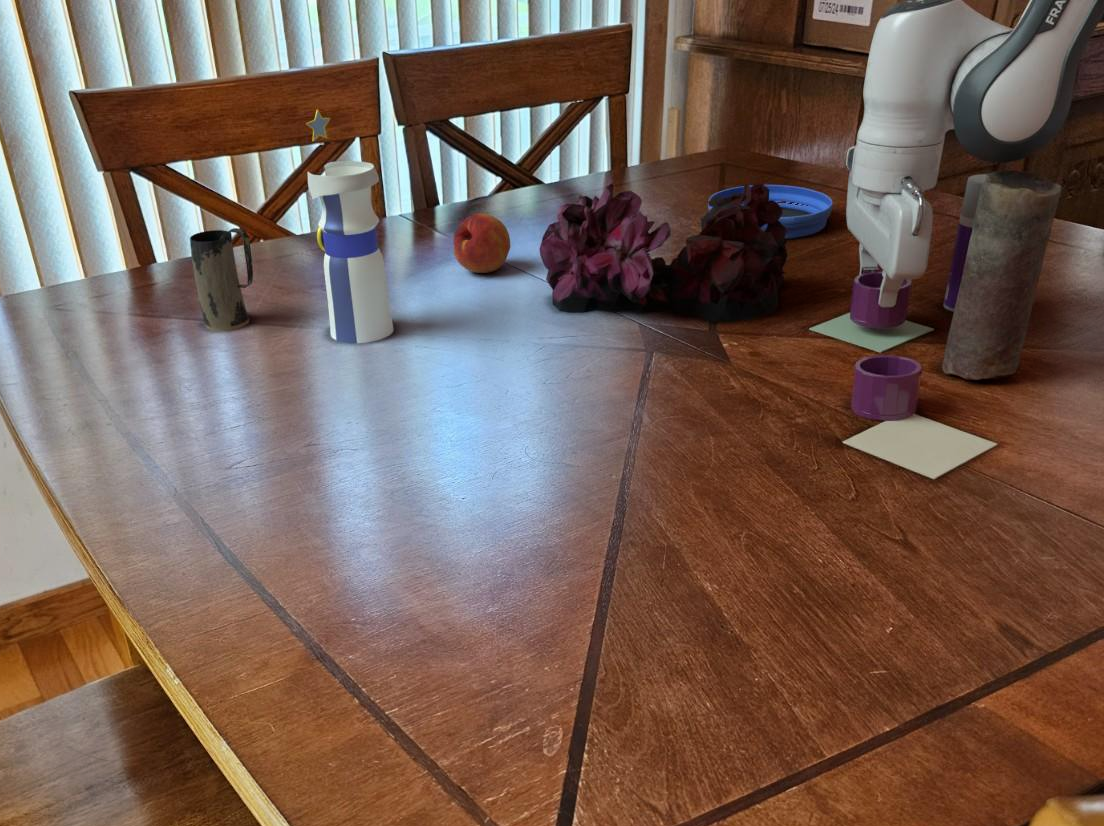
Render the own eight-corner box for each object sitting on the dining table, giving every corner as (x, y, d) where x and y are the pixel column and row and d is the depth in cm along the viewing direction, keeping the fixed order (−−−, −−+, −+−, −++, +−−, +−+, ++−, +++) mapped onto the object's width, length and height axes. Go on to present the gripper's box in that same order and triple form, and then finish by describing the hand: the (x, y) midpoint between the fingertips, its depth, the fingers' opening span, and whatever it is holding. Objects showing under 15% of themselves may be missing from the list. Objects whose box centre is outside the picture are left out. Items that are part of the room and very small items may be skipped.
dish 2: (928, 407, 109) (934, 364, 107) (890, 426, 106) (895, 381, 104) (876, 392, 114) (880, 350, 111) (838, 409, 111) (841, 367, 108)
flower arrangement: (774, 273, 146) (786, 155, 138) (801, 326, 130) (817, 196, 121) (541, 279, 148) (538, 163, 139) (539, 333, 132) (536, 205, 123)
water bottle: (312, 341, 132) (279, 120, 118) (350, 317, 139) (323, 105, 125) (370, 350, 129) (344, 123, 115) (406, 325, 136) (385, 108, 122)
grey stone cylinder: (993, 357, 120) (1036, 165, 109) (1031, 383, 114) (1080, 183, 103) (928, 364, 119) (964, 172, 108) (963, 391, 113) (1005, 190, 102)
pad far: (933, 331, 127) (934, 328, 127) (880, 354, 122) (881, 351, 122) (862, 309, 134) (862, 307, 133) (808, 330, 129) (809, 328, 128)
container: (962, 317, 130) (988, 186, 122) (934, 305, 134) (958, 177, 125) (992, 310, 132) (1020, 180, 123) (964, 298, 135) (989, 171, 127)
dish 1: (916, 318, 126) (922, 280, 124) (883, 332, 123) (889, 293, 121) (871, 305, 130) (876, 268, 128) (838, 319, 127) (843, 281, 125)
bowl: (682, 227, 165) (683, 203, 163) (755, 201, 175) (757, 178, 173) (782, 250, 154) (784, 224, 152) (853, 221, 164) (857, 197, 162)
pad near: (997, 446, 103) (997, 443, 102) (934, 481, 98) (934, 478, 98) (905, 413, 109) (906, 410, 109) (842, 444, 104) (842, 441, 104)
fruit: (446, 268, 154) (441, 210, 149) (499, 259, 156) (497, 202, 151) (465, 284, 147) (461, 224, 143) (520, 275, 150) (518, 215, 145)
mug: (195, 329, 138) (175, 233, 131) (219, 314, 142) (201, 220, 135) (250, 335, 135) (232, 237, 128) (272, 319, 139) (256, 223, 133)
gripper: (957, 190, 109) (931, 325, 117) (899, 144, 126) (880, 264, 133) (892, 193, 109) (872, 327, 117) (843, 147, 126) (828, 266, 134)
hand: (876, 293), depth 125 cm, fingers closed on dish 1, 6 cm apart
